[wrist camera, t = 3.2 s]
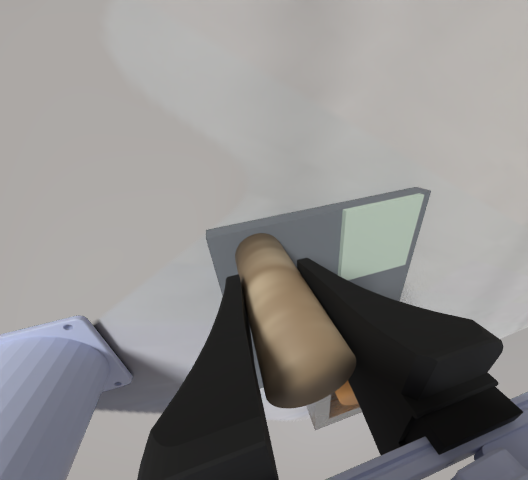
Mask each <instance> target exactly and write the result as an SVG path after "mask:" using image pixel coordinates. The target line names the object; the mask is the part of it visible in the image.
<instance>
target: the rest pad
mask: <svg viewBox="0 0 528 480" xmlns="http://www.w3.org/2000/svg"><path fill="white" fill-rule="evenodd" d="M423 198H424V195H423V194H420V193H418V194H414V195H409V196H404V197H399V198H395V199H390V200H385V201H381V202H376V203H371V204H366V205H362V206H357V207H352V208H347V209H343V214H342V227H341V240H340V252H339V265H338V276H340V277H342V278H344V279H346V280H351V279H355V278H358V277H362V276H366V275H369V274H373V273H377V272H380V271H384V270H388V269H391V268H395V267H399V266H402V265H405V264H406V260H407V256H408V253H409V249H410V245H411V242H412V238H413V235H414V231H415V227H416V224H417V220H418V216H419V213H420V209H421V205H422V202H423Z"/></svg>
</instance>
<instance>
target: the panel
mask: <svg viewBox="0 0 528 480" xmlns="http://www.w3.org/2000/svg"><path fill="white" fill-rule="evenodd" d="M418 193H420V194H423V195H424V198H423V202H422V205H421V209H420V213H419V216H418V220H417V224H416V227H415V231H414V235H413V238H412V242H411V245H410V249H409V253H408V256H407V260H406V264H405V265H402V266H399V267H395V268H391V269H388V270H384V271H380V272H377V273H373V274H369V275H366V276H362V277H358V278H355V279H351V280H348V281H350V282H352V283H354V284H356V285H358V286H360V287H363V288H365V289H367V290H370V291H372V292H375V293H376V292H378V293H379V294H380V295H382V296H385V297H388V298H391V299H394V300H397V301H399V300H400V297H401V293H402V290H403V286H404V283H405V280H406V276H407V273H408V269H409V266H410V262H411V259H412V255H413V252H414V248H415V245H416V241H417V238H418V234H419V231H420V227H421V224H422V221H423V217H424V214H425V210H426V207H427V203H428V200H429V196H430V193H431V191H430V190H426V189H422V188H418V187H414V188H409V189H404V190H399V191H394V192H390V193H385V194H380V195H375V196H370V197H365V198H360V199H355V200H351V201H346V202H341V203H336V204H331V205H326V206H321V207H316V208H312V209H307V210H302V211H297V212H292V213H287V214H282V215H278V216H273V217H268V218H263V219H258V220H253V221H248V222H243V223H239V224H234V225H229V226H224V227H219V228H214V229H209V230H206V240H207V244H208V247H209V250H210V254H211V257H212V261H213V264H214V268H215V271H216V275H217V278H218V282H219V285H220V288H221V292H222V295H223V294H224V289H225V283H226V278H227V277H229V276H233V275H237V274H238V270H237V266H236V261H235V252H236V249H237V247H238V246H239V244H240V243H241V242H242V241H243V240H244V239H245V238H247V237H249V236H251V235H253V234H258V233H266V234H270V235H272V236H274V237H275V238H276V239H277V240H278V241H279V242H280V244H281V245H282V247H283V248H284V250H285V251H286V253H287V254H288V256H289V257H290V259H291V260H292V262H293V263H294V265H295V266H296V268H297V260H298V259H303V258H309V259H311V260H313V261H314V262H316V263H318V264H319V265H321V266H323V267H324V268H326V269H328V270H329V271H331V272H333V273H335V274H337V275H338V265H339V252H340V240H341V227H342V214H343V209H347V208H352V207H357V206H362V205H366V204H371V203H376V202H381V201H385V200H390V199H395V198H399V197H404V196H409V195H414V194H418ZM250 331H251V328H250ZM251 339H252V347H253V355H254V363H255V369H256V374H257V379H258V384H259V388H263V387H264V386H263V382H262V378H261V373H260V369H259V364H258V360H257V355H256V351H255V346H254V342H253V337H252V333H251Z"/></svg>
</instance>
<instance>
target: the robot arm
mask: <svg viewBox="0 0 528 480" xmlns="http://www.w3.org/2000/svg"><path fill="white" fill-rule="evenodd" d="M297 269H298V271H299V272H300V274H301V275H302V277H303V278H304V280H305V281H306V283H307V284H308V286H309V287H310V289H311V290H312V292H313V293H314V295H315V296H316V298H317V299H318V301H319V302H320V304H321V305H322V307H323V308H324V310H325V312H326V313H327V315H328V316H329V318H330V319H331V321H332V322H333V324H334V325H335V327H336V328H337V330H338V331H339V333H340V334H341V336H342V337H343V339H344V340H345V342H346V343H347V345H348V346H349V348H350V349H351V351H352V352H353V354H354V355H355V357H356V367H355V370H354V372H353V374H352V375H351V377H350V378H349V379H348V382H349V384H350V386H351V388H352V390H353V393H354V395H355V397H356V399H357V401H358V404H359V406H360V408H361V410H362V412H363V415H364V417H365V419H366V422H367V424H368V426H369V429H370V431H371V433H372V435H373V438H374V441H375V443H376V445H377V448H378V450H379V453H380V454H381V456H379V457H377V458H374V459H372V460H370V461H367V462H365V463H363V464H360V465H358V466H356V467H354V468H351V469H349V470H347V471H344V472H342V473H340V474H337V475H335V476H333V477H330V478H328V479H326V480H421V479H423V478H425V477H427V476H430V475H432V474H434V473H436V472H438V471H440V470H442V469H444V468H447V467H448V466H451V465H453V464H455V463H457V462H459V461H461V460H463V459H466V458H468V457H470V456H472V455H474V454H475V455H474V460H475V461H474V462H472V463H470V464H469V465H467V466H465V467H464V468H462V469H460V470H458V472H457V473H456V475H455V476H454V477H453V478H452V479H451V480H528V392H526V393H524V394H521V395H519V396H517V397H515V398H512V399H509V398H507V397H506V396H505V395H504V394H503V393H502V392H501V391H499V390H498V389H497V388H496V387H495V386H497V385H498V382H497V380H496V379H494V378H493V377H492V376H491V375H490V374H489V373H487V372H488V370H489V369H490V368H491V367H492V365H493V364H494V363H495V361H496V360H497V359H498V357H499V356H500V354H501V353H502V350H503V344H502V341H501V340H500V339H499V338H497V337H496V336H494V335H493V334H492V333H490V332H489V331H487V330H486V329H485V328H483V327H482V326H480V325H479V324H477V323H476V322H475V321H473V320H471V319H466V318H462V317H457V316H452V315H448V314H443V313H438V312H434V311H431V310H427V309H423V308H419V307H416V306H412V305H409V304H406V303H403V302H400V301H397V300H394V299H391V298H388V297H385V296H382V295H380V294H377V293H375V292H372V291H370V290H367V289H365V288H363V287H360V286H358V285H356V284H354V283H352V282H350V281H348V280H346V279H344V278H342V277H340V276H338V275H337V274H335V273H333V272H331V271H329V270H328V269H326V268H324V267H323V266H321V265H319V264H318V263H316V262H314V261H313V260H311V259H309V258H303V259H298V260H297ZM68 324H69V325H68ZM132 378H133V376H132V375H131V373H130V372H129V371H128V370H127V368H126V367H125V366H124V364H123V363H122V362H121V361H120V359H119V358H118V357H117V355H116V354H115V353H114V352H113V350H112V349H111V348H110V347H109V345H108V344H107V343H106V341H105V340H104V339H103V338H102V336H101V335H100V334H99V333H98V331H97V330H96V329H95V327H94V326H93V325H92V324H91V322H90V321H89V320H88V319H87V318H86V317H84V316H73V317H69V318H65V319H61V320H57V321H53V322H49V323H45V324H41V325H37V326H33V327H28V328H24V329H20V330H16V331H13V332H8V333H4V334H0V480H66V479H67V476H68V474H69V471H70V469H71V466H72V464H73V461H74V459H75V456H76V454H77V451H78V449H79V446H80V444H81V442H82V439H83V437H84V434H85V432H86V429H87V427H88V424H89V422H90V419H91V417H92V414H93V412H94V410H95V407H96V405H97V402H98V400H99V397H100V395H101V393H102V392H105V391H108V390H112V389H115V388H118V387H121V386H125V385H128V384H130V383H131V381H132ZM137 480H279V479H278V474H277V470H276V465H275V460H274V455H273V450H272V446H271V441H270V436H269V431H268V426H267V422H266V417H265V412H264V407H263V403H262V398H261V393H260V388H259V384H258V379H257V374H256V369H255V363H254V355H253V347H252V339H251V331H250V324H249V319H248V315H247V310H246V306H245V299H244V294H243V290H242V285H241V281H240V276H239V274H237V275H233V276H229V277H227V278H226V283H225V289H224V294H223V298H222V301H221V305H220V308H219V311H218V314H217V317H216V319H215V322H214V325H213V327H212V330H211V332H210V334H209V336H208V339H207V341H206V343H205V345H204V347H203V349H202V351H201V353H200V355H199V357H198V358H197V360H196V362H195V364H194V366H193V367H192V369H191V371H190V372H189V374H188V376H187V377H186V379H185V380H184V382H183V384H182V385H181V387H180V389H179V390H178V392H177V393H176V395H175V396H174V398H173V399H172V401H171V402H170V404H169V405H168V406H167V408H166V409H165V411H164V412H163V414H162V415H161V417H160V418H159V419H158V421H157V422H156V424H155V425H154V426H153V428H152V429H151V431H150V434H149V437H148V440H147V443H146V447H145V450H144V454H143V457H142V461H141V464H140V469H139V474H138V479H137Z"/></svg>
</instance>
